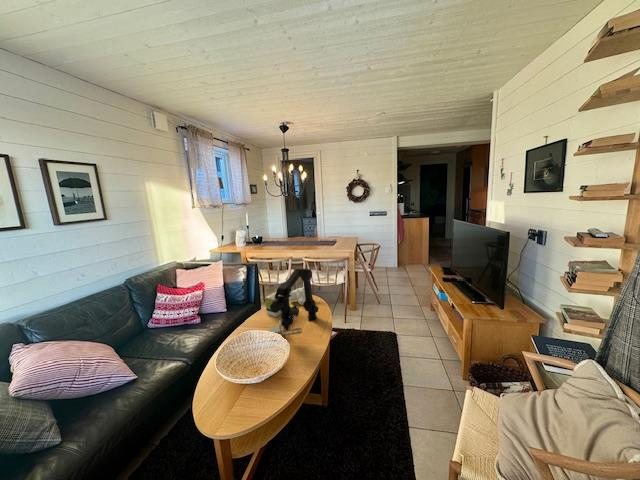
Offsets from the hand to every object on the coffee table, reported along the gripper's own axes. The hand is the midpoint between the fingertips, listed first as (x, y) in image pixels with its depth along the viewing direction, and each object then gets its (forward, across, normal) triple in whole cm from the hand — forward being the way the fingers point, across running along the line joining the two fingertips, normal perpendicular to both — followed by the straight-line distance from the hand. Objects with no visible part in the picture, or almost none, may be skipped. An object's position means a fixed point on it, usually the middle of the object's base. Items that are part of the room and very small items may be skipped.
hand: (287, 328), depth 163 cm
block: (+1, 0, 0) cm, 1 cm away
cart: (+8, +9, +8) cm, 14 cm away
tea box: (+8, +40, +6) cm, 42 cm away
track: (+8, +9, +1) cm, 12 cm away
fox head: (+8, +52, -14) cm, 54 cm away
